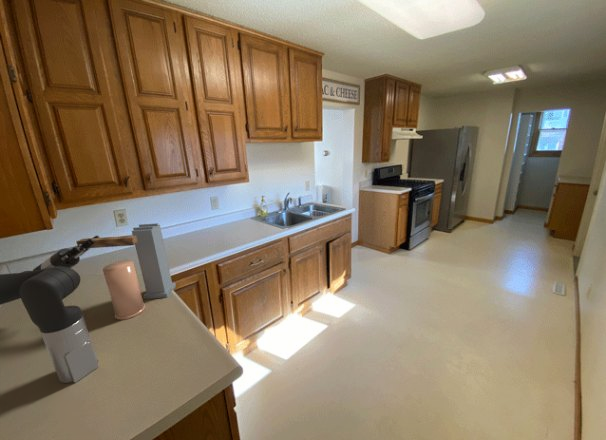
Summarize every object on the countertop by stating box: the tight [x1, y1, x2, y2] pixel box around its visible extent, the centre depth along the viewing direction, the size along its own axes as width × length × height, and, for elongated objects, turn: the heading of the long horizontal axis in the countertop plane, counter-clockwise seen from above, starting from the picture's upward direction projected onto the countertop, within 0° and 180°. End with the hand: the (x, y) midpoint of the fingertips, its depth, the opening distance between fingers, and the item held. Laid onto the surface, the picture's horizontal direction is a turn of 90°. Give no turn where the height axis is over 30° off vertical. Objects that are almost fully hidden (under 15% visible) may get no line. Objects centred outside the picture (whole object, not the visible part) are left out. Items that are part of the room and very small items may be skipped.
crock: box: [102, 259, 146, 321], centre depth 103 cm, size 11×11×21 cm
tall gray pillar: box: [131, 223, 177, 300], centre depth 116 cm, size 10×10×33 cm
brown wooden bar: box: [75, 235, 138, 249], centre depth 98 cm, size 20×3×3 cm, turn 95°
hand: (95, 239), depth 97 cm, fingers closed on brown wooden bar, 3 cm apart
